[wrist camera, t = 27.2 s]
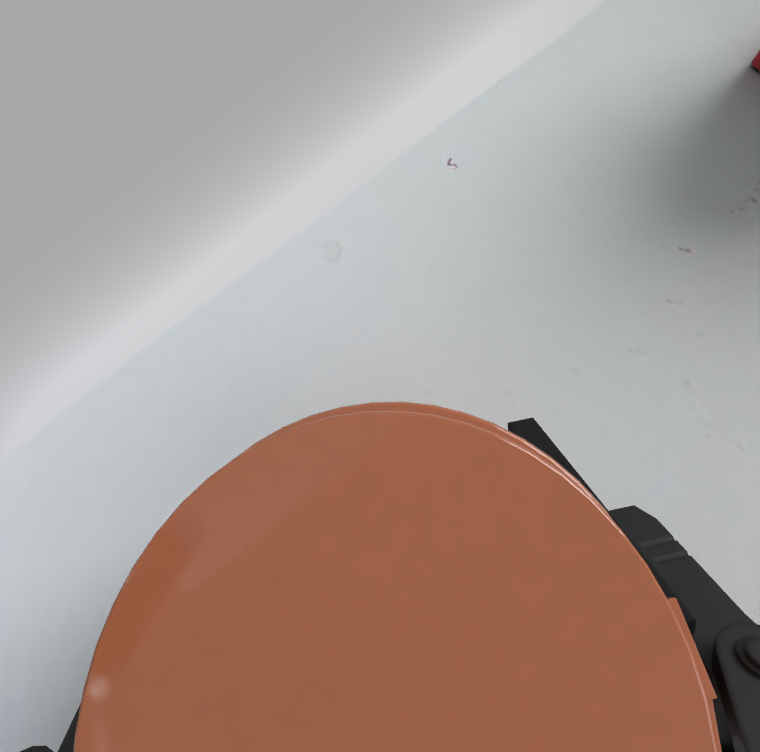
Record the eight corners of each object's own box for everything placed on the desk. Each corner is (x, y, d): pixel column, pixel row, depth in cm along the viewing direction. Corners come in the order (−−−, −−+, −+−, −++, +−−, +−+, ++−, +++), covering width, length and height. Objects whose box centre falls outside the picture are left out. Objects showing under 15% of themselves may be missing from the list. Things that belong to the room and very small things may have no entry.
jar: (302, 760, 14) (-27, 1453, 4) (271, 497, 17) (36, 436, 6) (555, 705, 15) (991, 1216, 4) (483, 452, 17) (608, 314, 6)
